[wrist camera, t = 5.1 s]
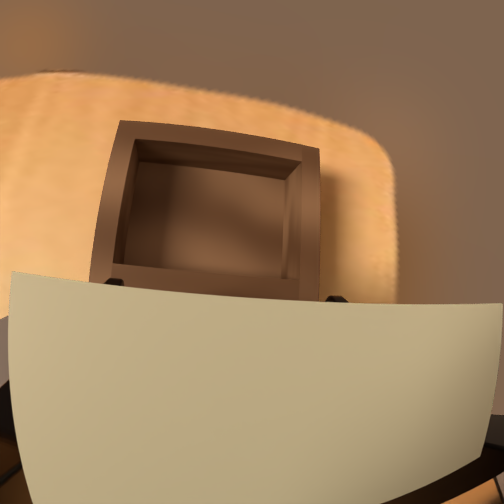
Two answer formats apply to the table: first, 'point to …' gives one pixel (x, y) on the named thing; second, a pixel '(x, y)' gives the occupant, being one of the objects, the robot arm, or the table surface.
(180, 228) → the slotted box
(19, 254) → the table surface
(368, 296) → the table surface
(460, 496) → the robot arm
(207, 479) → the beige rectangular block
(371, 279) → the table surface
